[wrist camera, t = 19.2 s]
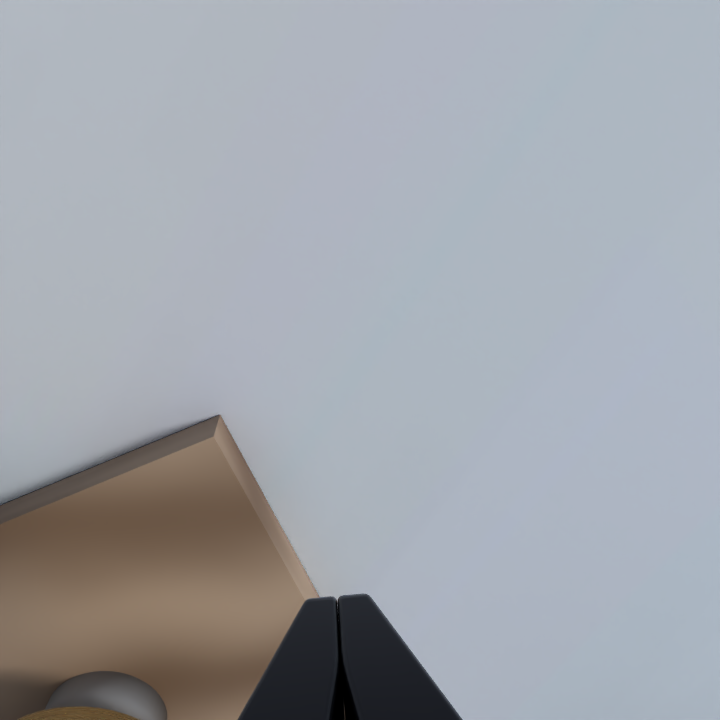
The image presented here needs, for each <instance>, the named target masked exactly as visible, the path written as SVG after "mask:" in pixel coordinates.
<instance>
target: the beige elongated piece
mask: <svg viewBox="0 0 720 720" xmlns="http://www.w3.org/2000/svg"><path fill="white" fill-rule="evenodd" d="M17 720H139V719H137V718H134V717H132V716H129V715H127V714H124V713H120V712H117V711H113V710H108V709H102V708H95V707H83V706H82V707H60V708H52V709H48V710H43V711H39V712H36V713H32V714H29V715H26V716H24V717H22V718H20V719H17Z"/></svg>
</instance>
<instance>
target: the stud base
mask: <svg viewBox="0 0 720 720" xmlns="http://www.w3.org/2000/svg"><path fill="white" fill-rule="evenodd" d="M309 598H319V595H318V593H317V592H316V590H315V588H314V586H313V584H312V582H311V581H310V579H309V577H308V575H307V573H306V571H305V570H304V568H303V566H302V564H301V562H300V560H299V559H298V557H297V555H296V553H295V551H294V549H293V548H292V546H291V544H290V542H289V540H288V538H287V537H286V535H285V533H284V531H283V529H282V527H281V526H280V524H279V522H278V520H277V518H276V516H275V515H274V513H273V511H272V509H271V507H270V505H269V504H268V502H267V500H266V498H265V496H264V494H263V493H262V491H261V489H260V487H259V485H258V483H257V482H256V480H255V478H254V476H253V474H252V472H251V471H250V469H249V467H248V465H247V463H246V461H245V460H244V458H243V456H242V454H241V452H240V450H239V448H238V447H237V445H236V443H235V441H234V439H233V437H232V436H231V434H230V432H229V430H228V428H227V426H226V425H225V423H224V421H223V419H222V417H221V415H218V416H216V417H213V418H211V419H208V420H206V421H204V422H201V423H199V424H196V425H194V426H192V427H189V428H187V429H184V430H182V431H179V432H177V433H175V434H172V435H170V436H167V437H165V438H162V439H160V440H158V441H155V442H153V443H150V444H148V445H146V446H143V447H141V448H138V449H136V450H133V451H131V452H129V453H126V454H124V455H121V456H119V457H116V458H114V459H112V460H109V461H107V462H104V463H102V464H100V465H97V466H95V467H92V468H90V469H87V470H85V471H83V472H80V473H78V474H75V475H73V476H70V477H68V478H66V479H63V480H61V481H58V482H56V483H54V484H51V485H49V486H46V487H44V488H41V489H39V490H37V491H34V492H32V493H29V494H27V495H24V496H22V497H20V498H17V499H15V500H12V501H10V502H8V503H5V504H3V505H0V720H17V719H20V718H22V717H24V716H26V715H29V714H32V713H36V712H39V711H43V710H48V709H52V708H60V707H82V706H83V707H95V708H102V709H108V710H113V711H117V712H120V713H124V714H127V715H129V716H132V717H134V718H137V719H139V720H237V719H238V718H239V716H240V714H241V712H242V710H243V709H244V707H245V705H246V703H247V702H248V700H249V698H250V696H251V695H252V693H253V691H254V689H255V688H256V686H257V684H258V682H259V680H260V679H261V677H262V675H263V673H264V672H265V670H266V668H267V666H268V665H269V663H270V661H271V659H272V658H273V656H274V654H275V652H276V650H277V649H278V647H279V645H280V643H281V642H282V640H283V638H284V636H285V635H286V633H287V631H288V629H289V628H290V626H291V624H292V622H293V620H294V619H295V617H296V615H297V613H298V612H299V610H300V608H301V606H302V605H303V603H304V602H305V600H307V599H309ZM344 713H345V712H344Z"/></svg>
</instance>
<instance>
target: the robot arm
mask: <svg viewBox="0 0 720 720" xmlns="http://www.w3.org/2000/svg"><path fill="white" fill-rule="evenodd" d="M338 619H339V621H338ZM344 712H345V713H344ZM237 720H462V718H461V717H460V716H459V714H458V713H457V712H456V710H455V709H454V708H453V706H452V705H451V704H450V702H449V701H448V700H447V698H446V697H445V696H444V694H443V693H442V692H441V690H440V689H439V688H438V686H437V685H436V684H435V682H434V681H433V680H432V678H431V677H430V676H429V674H428V673H427V672H426V670H425V669H424V668H423V666H422V665H421V664H420V662H419V661H418V660H417V658H416V657H415V656H414V654H413V653H412V652H411V650H410V649H409V648H408V646H407V645H406V644H405V642H404V641H403V640H402V638H401V637H400V636H399V634H398V633H397V632H396V630H395V629H394V628H393V626H392V625H391V624H390V622H389V621H388V620H387V618H386V617H385V615H384V614H383V613H382V611H381V610H380V609H379V607H378V606H377V605H376V603H375V602H374V601H373V599H372V598H371V597H370V596H369V595H367V594H354V595H343V596H340V597H339V599H338V606H337V600H336V598H334V597H331V596H330V597H319V598H309V599H307V600H305V602H304V603H303V605H302V606H301V608H300V610H299V612H298V613H297V615H296V617H295V619H294V620H293V622H292V624H291V626H290V628H289V629H288V631H287V633H286V635H285V636H284V638H283V640H282V642H281V643H280V645H279V647H278V649H277V650H276V652H275V654H274V656H273V658H272V659H271V661H270V663H269V665H268V666H267V668H266V670H265V672H264V673H263V675H262V677H261V679H260V680H259V682H258V684H257V686H256V688H255V689H254V691H253V693H252V695H251V696H250V698H249V700H248V702H247V703H246V705H245V707H244V709H243V710H242V712H241V714H240V716H239V718H238V719H237Z"/></svg>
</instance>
